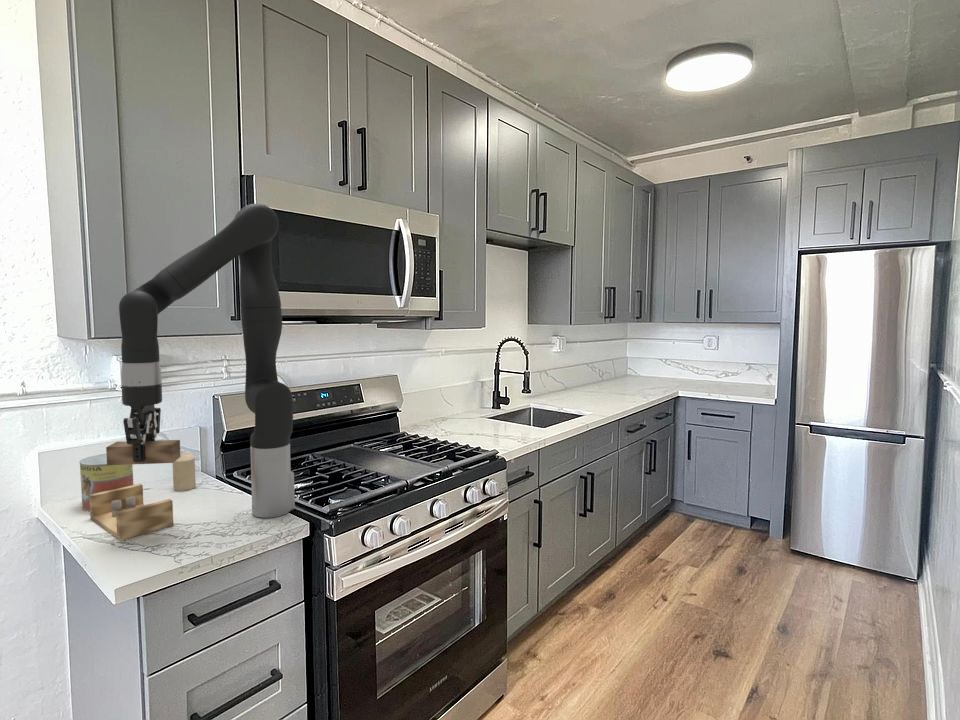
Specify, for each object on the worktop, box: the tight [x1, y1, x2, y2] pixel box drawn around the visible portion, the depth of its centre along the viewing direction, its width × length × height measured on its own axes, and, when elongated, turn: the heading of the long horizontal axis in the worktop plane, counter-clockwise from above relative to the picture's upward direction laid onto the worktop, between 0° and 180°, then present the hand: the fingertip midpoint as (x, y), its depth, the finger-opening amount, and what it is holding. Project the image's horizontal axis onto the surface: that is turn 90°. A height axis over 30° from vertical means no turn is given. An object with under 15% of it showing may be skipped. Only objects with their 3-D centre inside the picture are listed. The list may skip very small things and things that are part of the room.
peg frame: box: [89, 483, 174, 541], centre depth 129 cm, size 11×19×6 cm, turn 52°
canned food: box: [78, 453, 134, 513], centre depth 140 cm, size 11×11×12 cm
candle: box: [172, 452, 197, 492], centre depth 153 cm, size 6×6×10 cm
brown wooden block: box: [105, 439, 181, 465], centre depth 121 cm, size 13×5×4 cm, turn 101°
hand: (144, 457), depth 121 cm, fingers closed on brown wooden block, 5 cm apart
